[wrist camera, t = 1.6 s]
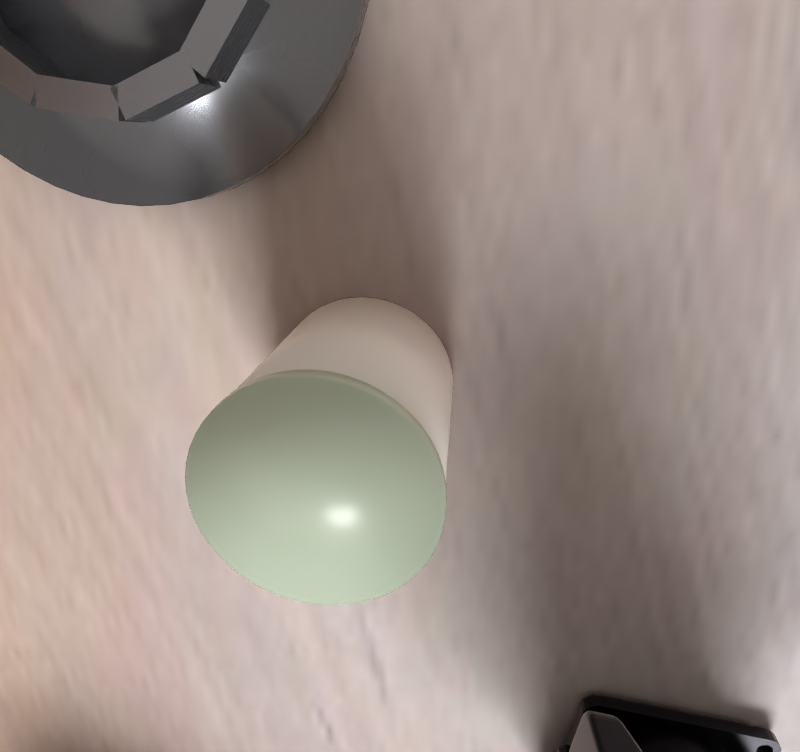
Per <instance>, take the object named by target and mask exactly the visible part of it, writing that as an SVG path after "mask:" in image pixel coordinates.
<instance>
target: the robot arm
mask: <svg viewBox="0 0 800 752" xmlns="http://www.w3.org/2000/svg"><path fill="white" fill-rule="evenodd" d="M557 752H781V747H780V745H779V743H778V741H777V739H776V737H775V735H774V734H773V733H772V732H771V731H769V730H767V729H763V728H758V727H753V726H748V725H743V724H738V723H733V722H728V721H723V720H718V719H713V718H708V717H703V716H698V715H693V714H688V713H683V712H678V711H673V710H668V709H663V708H658V707H653V706H648V705H643V704H638V703H633V702H628V701H624V700H619V699H614V698H609V697H604V696H597V695H592V696H588V697H586V698H585V699H583V700H582V702H581V703H580V706H579V709H578V712H577V714H576V717H575V720H574V723H573V725H572V728H571V731H570V733H569V736H568V739H567V742H566V744H565V743H563V744H562V745H561V746H560V747H559V748H558V749H557Z"/></svg>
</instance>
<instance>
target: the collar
mask: <svg viewBox="0 0 800 752" xmlns="http://www.w3.org/2000/svg"><path fill="white" fill-rule="evenodd" d="M367 6H368V0H0V154H1V155H2V156H4V157H5V158H7V159H8V160H10V161H11V162H13V163H14V164H16V165H17V166H19V167H20V168H22V169H23V170H25V171H27V172H28V173H30V174H32V175H34V176H36V177H38V178H40V179H42V180H44V181H46V182H48V183H50V184H52V185H54V186H56V187H59V188H62V189H64V190H67V191H70V192H72V193H75V194H78V195H80V196H83V197H87V198H92V199H96V200H100V201H105V202H109V203H115V204H125V205H136V206H152V205H171V204H176V203H181V202H186V201H191V200H196V199H201V198H206V197H210V196H212V195H215V194H218V193H221V192H223V191H226V190H229V189H232V188H235V187H237V186H238V185H240V184H242V183H244V182H246V181H248V180H249V179H251V178H253V177H255V176H257V175H259V174H261V173H262V172H263V171H265V170H266V169H267V168H269V167H270V166H271V165H273V164H274V163H275V162H277V161H278V160H279V159H281V158H282V157H283V156H284V155H285V154H286V153H287V152H288V151H289V150H290V149H291V148H292V147H293V146H294V145H295V144H296V143H297V142H298V141H299V140H300V139H301V138H302V137H303V136H304V135H305V134H306V133H307V132H308V131H309V129H310V128H311V127H312V125H313V124H314V123H315V121H316V120H317V119H318V117H319V116H320V115H321V113H322V112H323V111H324V109H325V108H326V107H327V105H328V103H329V101H330V99H331V98H332V96H333V94H334V92H335V91H336V89H337V87H338V85H339V84H340V82H341V80H342V78H343V76H344V74H345V71H346V69H347V66H348V64H349V62H350V59H351V57H352V54H353V52H354V49H355V47H356V45H357V42H358V38H359V35H360V31H361V27H362V24H363V20H364V17H365V13H366V9H367Z"/></svg>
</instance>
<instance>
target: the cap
mask: <svg viewBox="0 0 800 752" xmlns="http://www.w3.org/2000/svg"><path fill="white" fill-rule="evenodd" d="M452 396H453V374H452V368H451V364H450V360H449V357H448V354H447V352H446V350H445V348H444V346H443V344H442V343H441V341H440V339H439V338H438V336H437V335H436V334H435V332H434V331H433V330H432V329H431V328H430V327H429V326H428V325H427V324H426V323H425V322H424V321H423V320H422V319H421V318H419V317H418V316H417V315H415V314H414V313H412V312H411V311H409V310H407V309H405V308H403V307H401V306H400V305H397V304H394V303H391V302H389V301H385V300H381V299H376V298H366V297H358V298H347V299H341V300H338V301H334V302H331V303H329V304H326V305H324V306H322V307H320V308H318V309H317V310H315V311H314V312H312V313H310V314H309V315H308V316H307V317H306V318H305V319H304V320H302V321H301V322H300V323H299V325H298V326H297V327H296V328H295V329H294V330H293V331H292V332H291V333H290V334H289V335H288V336H287V337H286V338H285V339H284V340H283V341H282V342H281V343H280V344H279V345H278V346H277V347H276V349H275V350H274V351H273V352H272V353H271V354H270V355H269V356H268V357H267V358H266V359H265V360H264V361H263V362H262V363H261V364H260V365H259V366H258V367H257V368H256V369H255V370H254V371H253V373H252V374H251V375H250V376H249V377H248V378H247V379H246V380H245V381H244V382H243V383H242V384H241V385H240V386H239V387H238V388H237V389H236V390H234V391H233V392H232V393H230V394H229V395H228V396H227V397H226V398H225V399H223V400H222V401H221V402H220V403H219V404H218V405H217V406H216V407H215V408H214V409H213V410H212V411H211V413H210V414H209V415H208V416H207V417H206V418H205V420H204V421H203V422H202V424H201V425H200V427H199V429H198V430H197V432H196V434H195V436H194V438H193V440H192V443H191V445H190V448H189V452H188V456H187V461H186V471H185V483H186V493H187V497H188V502H189V506H190V509H191V512H192V514H193V517H194V520H195V522H196V524H197V526H198V528H199V530H200V531H201V533H202V535H203V536H204V538H205V539H206V541H207V542H208V544H209V545H210V546H211V548H212V549H213V550H214V551H215V552H216V553H217V555H218V556H219V557H220V558H221V559H222V560H223V561H224V562H225V563H226V564H227V565H229V566H230V567H231V568H232V569H233V570H234V571H236V572H237V573H238V574H240V575H241V576H242V577H244V578H245V579H247V580H248V581H250V582H252V583H253V584H255V585H257V586H258V587H261V588H263V589H265V590H267V591H269V592H271V593H273V594H276V595H279V596H282V597H284V598H287V599H291V600H295V601H299V602H303V603H310V604H317V605H347V604H354V603H360V602H365V601H368V600H372V599H375V598H378V597H381V596H383V595H385V594H388V593H390V592H392V591H394V590H396V589H397V588H399V587H401V586H402V585H404V584H405V583H407V582H408V581H409V580H410V579H411V578H413V577H414V576H415V575H416V574H417V573H418V572H419V571H420V570H421V569H422V568H423V567H424V566H425V565H426V563H427V562H428V560H429V559H430V557H431V556H432V554H433V553H434V551H435V549H436V547H437V545H438V542H439V540H440V537H441V534H442V531H443V527H444V521H445V513H446V501H447V492H446V470H447V457H448V445H449V433H450V421H451V408H452Z"/></svg>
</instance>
